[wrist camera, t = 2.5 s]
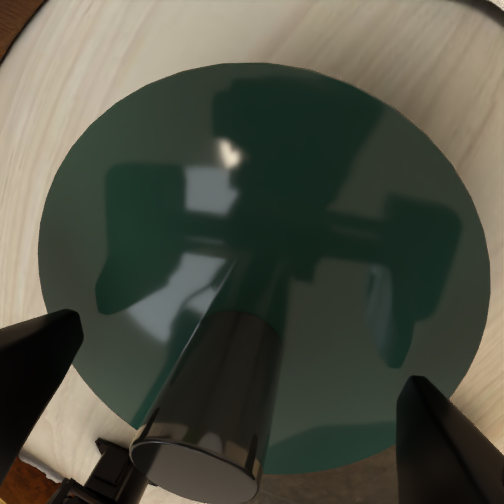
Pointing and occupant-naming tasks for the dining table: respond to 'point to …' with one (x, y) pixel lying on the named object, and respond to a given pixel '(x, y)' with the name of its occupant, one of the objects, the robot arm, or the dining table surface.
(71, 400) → the dining table surface
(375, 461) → the bowl
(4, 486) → the clay pot
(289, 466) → the pot lid
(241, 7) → the dining table surface
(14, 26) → the sculpture
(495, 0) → the plate
